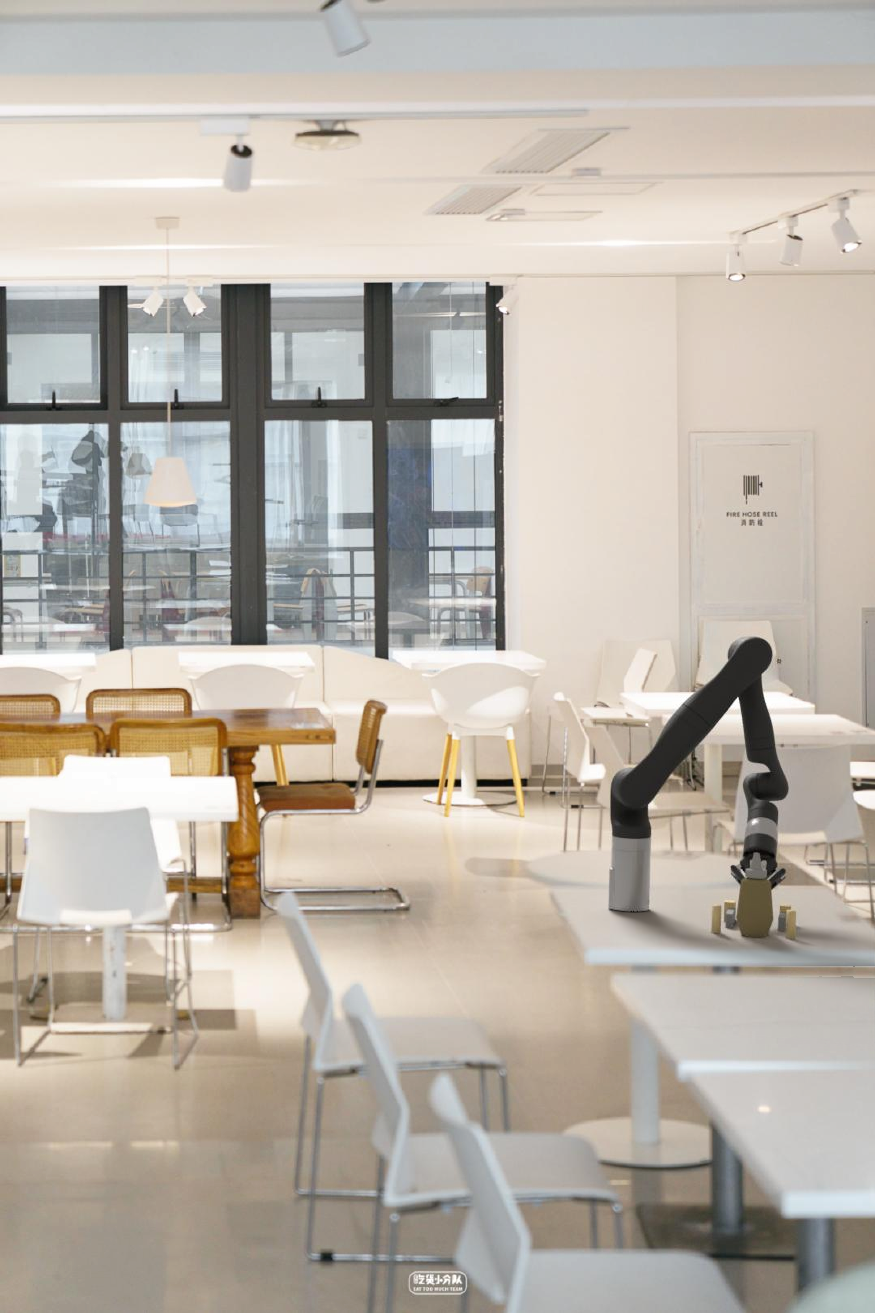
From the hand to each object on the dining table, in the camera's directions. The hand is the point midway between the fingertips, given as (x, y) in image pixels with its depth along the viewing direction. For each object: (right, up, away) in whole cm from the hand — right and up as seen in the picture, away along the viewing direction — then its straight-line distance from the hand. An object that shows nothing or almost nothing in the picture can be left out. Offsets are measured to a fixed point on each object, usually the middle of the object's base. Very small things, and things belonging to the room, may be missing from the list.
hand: (755, 903), depth 342 cm
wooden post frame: (0, -6, 0) cm, 6 cm away
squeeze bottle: (-2, -6, -7) cm, 9 cm away
